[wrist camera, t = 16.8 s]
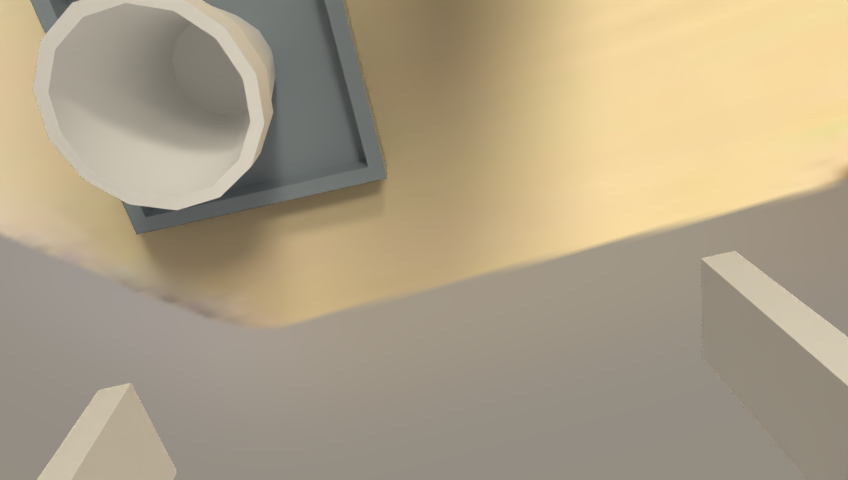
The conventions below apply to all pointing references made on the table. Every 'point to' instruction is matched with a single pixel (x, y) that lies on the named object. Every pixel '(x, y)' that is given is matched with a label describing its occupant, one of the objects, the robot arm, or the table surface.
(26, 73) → the table surface
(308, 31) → the slate tray
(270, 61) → the foam cup
